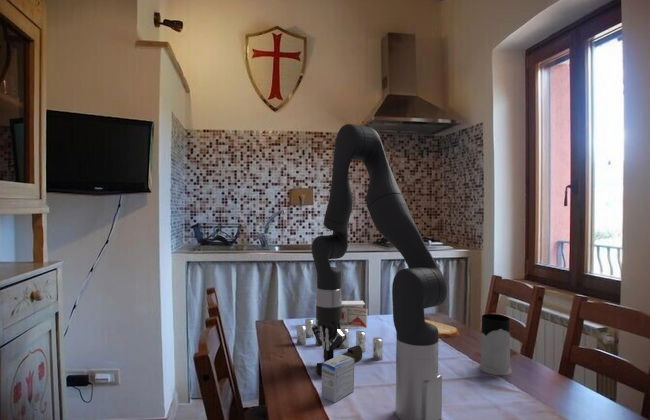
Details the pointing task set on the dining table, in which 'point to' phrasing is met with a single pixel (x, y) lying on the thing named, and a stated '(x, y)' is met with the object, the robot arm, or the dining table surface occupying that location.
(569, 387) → the dining table surface
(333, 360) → the medicine box
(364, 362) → the dining table surface
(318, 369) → the dark brown rod
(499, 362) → the glass holder
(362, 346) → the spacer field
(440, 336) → the bread slice
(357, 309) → the white printed carton
